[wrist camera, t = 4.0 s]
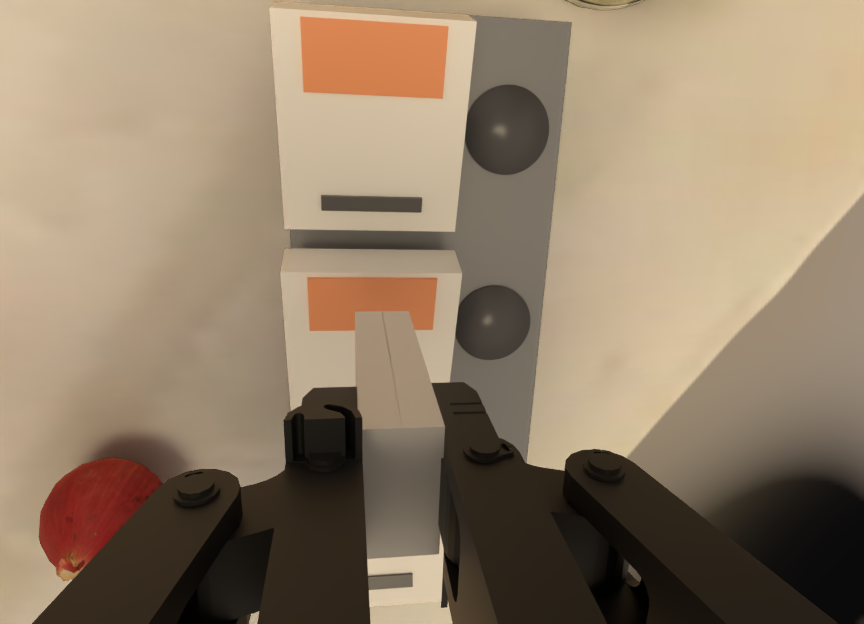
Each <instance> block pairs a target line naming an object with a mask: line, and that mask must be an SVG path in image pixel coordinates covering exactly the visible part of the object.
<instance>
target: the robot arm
mask: <svg viewBox="0 0 864 624" xmlns="http://www.w3.org/2000/svg"><path fill="white" fill-rule="evenodd" d="M355 386H356V387H323V388H313V389H311V390H310V391H309V392H308V393H307V394H306V395H305V396H304V397H303V398H302V404H301V406H299V407H297V408H295V409H294V410H292V411H291V412H289V413H288V414H287V416H286V417H285V419H284V436H285V456H286V465H285V470H284V471H283V472H281V473H280V474H278V475H277V476H275V477H273V478H271V479H269V480H266V481H263V482H260V483H257V484H253V485H249V486H245V487H240V484H239V481H238V478H237V477H235V476H234V475H232V474H231V473H229V472H226V471H222V470H217V469H199V470H194V471H189V472H186V473H183V474H180V475H178V476H176V477H174V478H171V479H169V480H168V481H166V482H165V483H164V484H162V485H161V486H160V487H159V488H157V489H156V490H155V492H154V493H153V494H152V495H151V496H150V497H149V498H148V499H147V500H146V501H145V502H144V503H143V504H142V506H141V507H140V508H139V509H138V510H137V511H136V512H135V513H134V514H133V515H132V516H131V517H130V518H129V520H128V521H127V522H126V523H125V524H124V525H123V526H122V527H121V528H120V529H119V530H118V531H117V533H116V534H115V535H114V536H113V537H112V538H111V539H110V540H109V541H108V542H107V543H106V544H105V545H104V547H103V548H102V549H101V550H100V551H99V552H98V553H97V554H96V555H95V556H94V557H93V558H92V560H91V561H90V562H89V563H88V564H87V565H86V566H85V567H84V568H83V569H82V570H81V571H80V572H79V574H78V575H77V576H76V577H75V578H74V579H73V580H72V581H71V582H70V583H69V584H68V585H67V586H66V588H65V589H64V590H63V591H62V592H61V593H60V594H59V595H58V596H57V597H56V598H55V599H54V601H53V602H52V603H51V604H50V605H49V606H48V607H47V608H46V609H45V610H44V611H43V612H42V613H41V615H40V616H39V617H38V618H37V619H36V620H35V621H34V622H33V623H32V624H249V620H250V616H251V614H252V613H255V612H258V611H260V612H259V618H258V623H257V624H370V607H369V586H368V564H367V559H377V558H392V557H406V556H421V555H436V554H439V547H440V535H441V539H442V544H443V548H444V557H443V578H442V599H441V608H443V607H447V603H448V602H449V607H450V612H451V617H452V622H453V624H838V623H837V622H835V621H834V620H833V619H831V618H830V617H829V616H828V615H826V614H825V613H824V612H822V611H821V610H820V609H819V608H817V607H816V606H815V605H814V604H812V603H811V602H810V601H809V600H807V599H806V598H805V597H804V596H802V595H801V594H800V593H798V592H797V591H796V590H795V589H793V588H792V587H791V586H790V585H788V584H787V583H786V582H784V581H783V580H782V579H781V578H779V577H778V576H777V575H776V574H774V573H773V572H772V571H771V570H769V569H768V568H767V567H765V566H764V565H763V564H762V563H760V562H759V561H758V560H756V559H755V558H754V557H753V556H751V555H750V554H749V553H748V552H746V551H745V550H744V549H743V548H741V547H740V546H739V545H738V544H736V543H735V542H734V541H732V540H731V539H730V538H729V537H727V536H726V535H725V534H723V533H722V532H721V531H720V530H719V529H717V528H716V527H715V526H713V525H712V524H711V523H710V522H708V521H707V520H706V519H705V518H703V517H702V516H700V515H699V514H698V513H697V512H696V511H694V510H693V509H692V508H690V507H689V506H688V505H687V504H685V503H684V502H683V501H682V500H680V499H679V498H678V497H677V496H675V495H674V494H673V493H671V492H670V491H669V490H668V489H667V488H665V487H664V486H663V485H661V484H660V483H659V482H658V481H656V480H655V479H654V478H653V477H651V476H650V475H649V474H647V473H646V472H645V471H644V470H642V469H641V468H640V467H639V466H637V465H636V464H635V463H633V462H632V461H630V460H628V459H627V458H625V457H623V456H621V455H618V454H615V453H612V452H610V451H606V450H598V449H593V450H581V451H578V452H576V453H573V454H571V455H570V456H569V457H568V458H567V459H566V463H565V471H562V470H555V469H548V468H542V467H537V466H532V465H529V464H526V463H525V461H524V459H523V457H522V456H521V454H520V452H519V451H518V449H517V448H516V447H515V446H514V445H513V444H511V443H509V442H508V441H506V440H504V439H501V438H499V437H498V435H497V433H496V431H495V429H494V427H493V424H492V422H491V420H490V418H489V416H488V414H487V413H486V410H485V408H484V405H483V404H482V401H481V399H480V397H479V395H478V393H477V391H476V390H474V389H473V388H471V387H470V386H469V385H467V384H466V383H464V382H446V383H431V380H430V377H429V374H428V371H427V368H426V365H425V361H424V358H423V355H422V352H421V349H420V346H419V342H418V339H417V336H416V333H415V330H414V327H413V323H412V320H411V317H410V314H409V311H359V312H355ZM629 564H630V565H631V566H632V567H633V568H634V569H635V570H636V571H637V572H638V574H639V575H640V576H641V581H640V582H638V581H637V580H636V579H635V578H634V577H633V576H632V575H631V574H630V573H629V572H628V567H629Z"/></svg>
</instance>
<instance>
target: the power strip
mask: <svg viewBox="0 0 864 624" xmlns="http://www.w3.org/2000/svg"><path fill="white" fill-rule="evenodd" d="M469 16H470V17H471V18H473V19H474V20H475V21H477V25H476V35H475V44H474V54H473V64H472V73H471V83H470V92H469V102H468V111H467V121H466V131H465V140H464V150H463V159H462V169H461V179H460V188H459V198H458V207H457V217H456V227H455V232H435V231H370V230H305V229H290V239H291V248H305V249H396V250H455V253H456V256H457V259H458V262H459V265H460V268H461V271H462V281H461V289H460V298H459V306H458V315H457V324H456V332H455V341H454V349H453V358H452V366H451V375H450V382H464V383H466V384H467V385H469V386H470V387H471V388H473V389H474V390H476V391H477V393H478V395H479V397H480V399H481V401H482V404H483V405H484V408H485V410H486V413H487V414H488V416H489V418H490V420H491V422H492V424H493V427H494V429H495V431H496V433H497V435H498V437H499V438H501V439H504V440H506V441H508V442H509V443H511V444H513V445H514V446H515V447H516V448H517V449H518V451H519V452H520V454H521V456H522V457H523V459H524V461H525V463H526V462H527V452H528V443H529V433H530V423H531V413H532V404H533V394H534V384H535V375H536V365H537V355H538V346H539V336H540V326H541V316H542V307H543V297H544V287H545V278H546V268H547V258H548V248H549V239H550V229H551V219H552V210H553V200H554V190H555V180H556V171H557V161H558V151H559V142H560V132H561V122H562V113H563V103H564V93H565V83H566V74H567V64H568V54H569V45H570V35H571V25H572V22H559V21H545V20H530V19H516V18H501V17H487V16H472V15H469Z"/></svg>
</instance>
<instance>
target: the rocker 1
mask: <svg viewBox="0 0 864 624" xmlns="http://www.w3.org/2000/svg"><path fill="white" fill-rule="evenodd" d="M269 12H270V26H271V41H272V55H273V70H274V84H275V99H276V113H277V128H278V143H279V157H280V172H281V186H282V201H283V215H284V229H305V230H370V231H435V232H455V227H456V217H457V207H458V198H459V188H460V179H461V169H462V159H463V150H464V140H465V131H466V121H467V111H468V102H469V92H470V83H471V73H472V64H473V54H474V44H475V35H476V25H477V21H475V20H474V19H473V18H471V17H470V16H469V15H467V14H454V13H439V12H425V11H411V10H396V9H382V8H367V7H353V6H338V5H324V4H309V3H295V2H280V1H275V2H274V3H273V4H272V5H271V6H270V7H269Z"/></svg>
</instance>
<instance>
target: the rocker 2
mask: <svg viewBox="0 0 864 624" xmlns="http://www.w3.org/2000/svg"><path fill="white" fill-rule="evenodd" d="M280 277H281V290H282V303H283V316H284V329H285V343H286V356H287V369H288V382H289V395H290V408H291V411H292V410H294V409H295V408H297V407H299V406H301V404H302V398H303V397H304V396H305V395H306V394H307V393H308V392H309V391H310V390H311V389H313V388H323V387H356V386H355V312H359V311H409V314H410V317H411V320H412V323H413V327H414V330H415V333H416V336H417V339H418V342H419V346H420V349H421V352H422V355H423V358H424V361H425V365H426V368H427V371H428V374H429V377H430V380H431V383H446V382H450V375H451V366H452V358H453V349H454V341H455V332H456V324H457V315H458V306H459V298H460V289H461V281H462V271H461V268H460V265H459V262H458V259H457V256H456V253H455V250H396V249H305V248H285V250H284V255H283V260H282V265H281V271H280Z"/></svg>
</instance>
